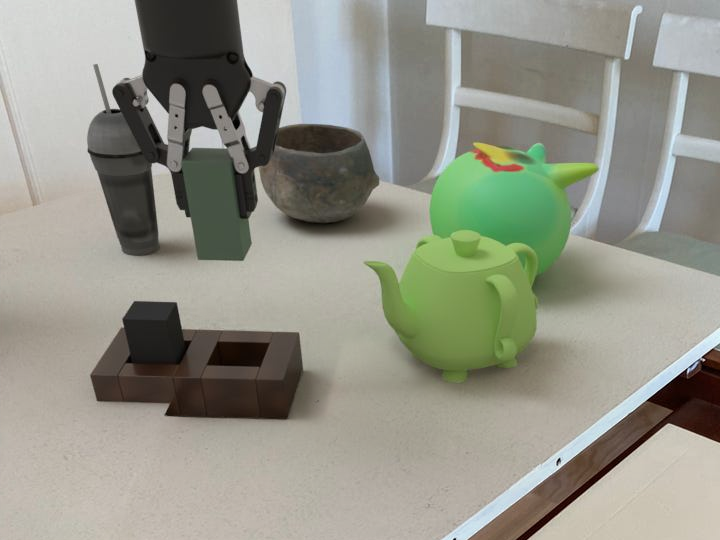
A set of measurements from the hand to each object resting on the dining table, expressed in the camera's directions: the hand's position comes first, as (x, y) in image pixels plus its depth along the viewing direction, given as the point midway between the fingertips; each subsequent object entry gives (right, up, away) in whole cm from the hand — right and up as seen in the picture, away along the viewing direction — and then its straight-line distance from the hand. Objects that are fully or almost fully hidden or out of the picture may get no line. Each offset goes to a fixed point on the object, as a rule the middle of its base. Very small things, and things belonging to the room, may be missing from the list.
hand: (219, 214), depth 84 cm
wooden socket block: (-4, -13, +11) cm, 17 cm away
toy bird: (+25, +7, +34) cm, 43 cm away
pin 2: (0, -2, +2) cm, 3 cm away
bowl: (+1, +20, +47) cm, 51 cm away
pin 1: (-8, -12, +11) cm, 18 cm away
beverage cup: (-20, +12, +37) cm, 44 cm away
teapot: (+20, -8, +17) cm, 27 cm away
